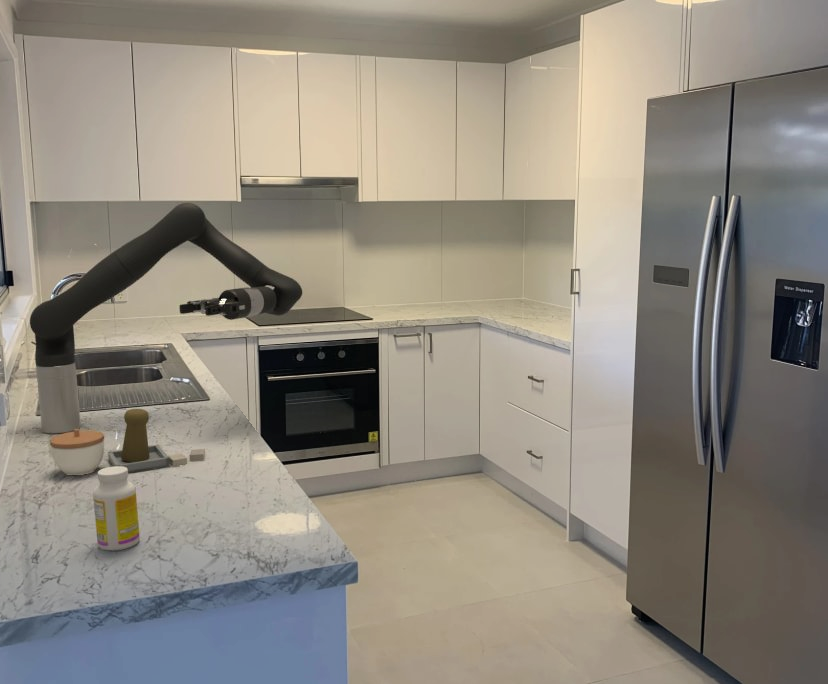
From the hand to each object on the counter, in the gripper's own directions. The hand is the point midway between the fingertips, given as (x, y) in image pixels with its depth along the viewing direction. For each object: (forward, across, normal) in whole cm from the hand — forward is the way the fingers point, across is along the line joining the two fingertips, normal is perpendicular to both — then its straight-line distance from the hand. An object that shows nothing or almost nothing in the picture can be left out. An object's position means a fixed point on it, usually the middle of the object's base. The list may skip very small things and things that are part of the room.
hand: (193, 310), depth 189 cm
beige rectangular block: (+10, +9, +32) cm, 35 cm away
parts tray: (+19, 0, +32) cm, 37 cm away
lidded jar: (+29, -6, +32) cm, 44 cm away
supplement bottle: (+51, +33, +32) cm, 69 cm away
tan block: (+15, +8, +32) cm, 36 cm away
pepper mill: (+18, -1, +31) cm, 36 cm away
